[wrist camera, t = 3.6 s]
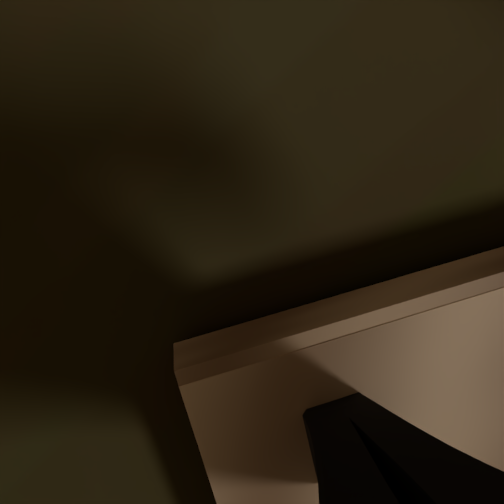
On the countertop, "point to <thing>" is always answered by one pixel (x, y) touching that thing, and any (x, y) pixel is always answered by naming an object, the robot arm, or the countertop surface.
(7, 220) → the countertop surface
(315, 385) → the plank
